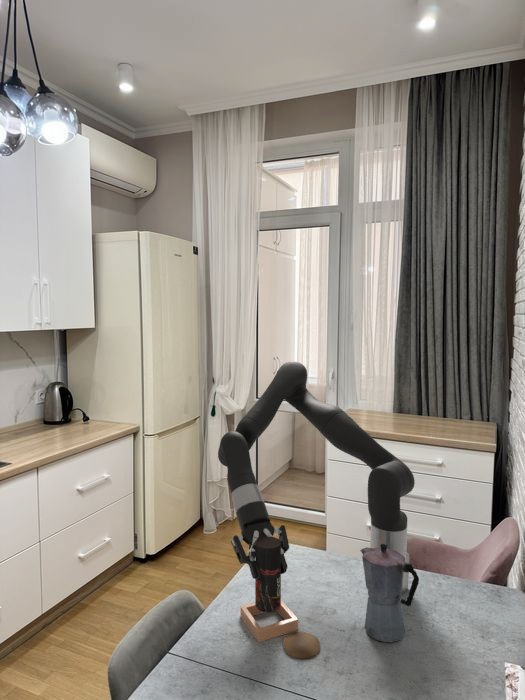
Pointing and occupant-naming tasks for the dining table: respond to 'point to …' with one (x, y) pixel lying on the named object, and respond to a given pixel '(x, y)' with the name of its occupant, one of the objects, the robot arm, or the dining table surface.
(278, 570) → the deodorant
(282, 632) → the orange square frame
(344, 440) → the robot arm
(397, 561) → the moka pot
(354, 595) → the dining table surface
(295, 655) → the coaster
